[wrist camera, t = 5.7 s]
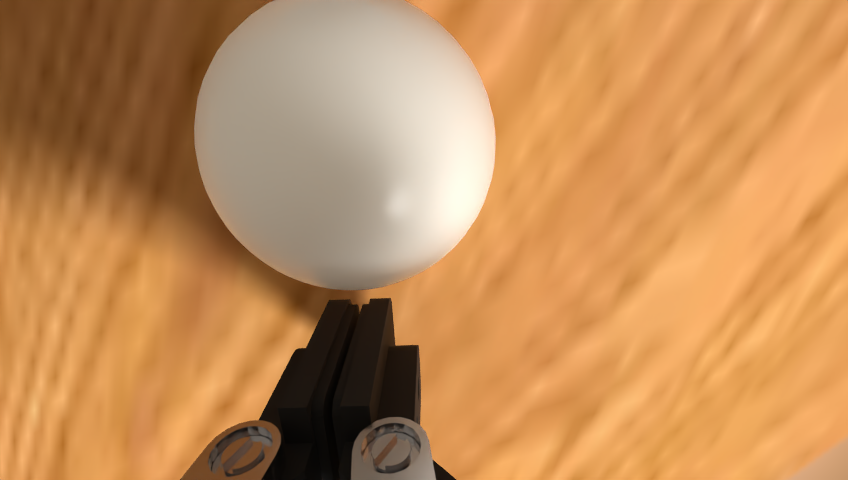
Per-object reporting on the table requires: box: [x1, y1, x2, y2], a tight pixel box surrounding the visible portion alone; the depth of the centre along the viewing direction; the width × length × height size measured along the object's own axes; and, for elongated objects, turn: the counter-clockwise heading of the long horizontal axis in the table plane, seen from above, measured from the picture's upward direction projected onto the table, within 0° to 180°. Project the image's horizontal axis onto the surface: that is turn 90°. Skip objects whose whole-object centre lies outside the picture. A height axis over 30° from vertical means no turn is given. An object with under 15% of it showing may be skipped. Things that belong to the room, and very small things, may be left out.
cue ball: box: [194, 0, 496, 290], centre depth 8 cm, size 6×6×6 cm
